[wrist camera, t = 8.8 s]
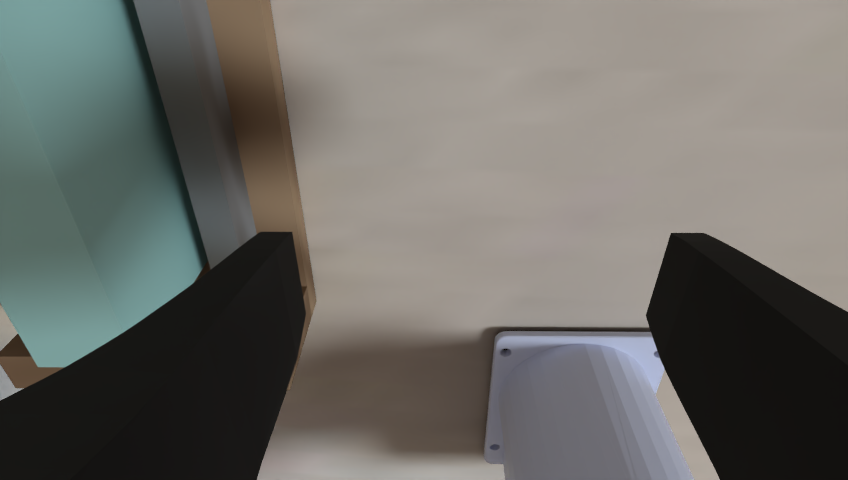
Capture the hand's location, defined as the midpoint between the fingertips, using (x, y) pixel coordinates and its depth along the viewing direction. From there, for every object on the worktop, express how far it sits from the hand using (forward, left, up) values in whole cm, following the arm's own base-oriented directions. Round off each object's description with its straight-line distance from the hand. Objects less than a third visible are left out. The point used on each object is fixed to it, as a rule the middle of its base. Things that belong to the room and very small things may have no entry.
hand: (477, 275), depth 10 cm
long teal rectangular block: (+1, +11, -8) cm, 14 cm away
